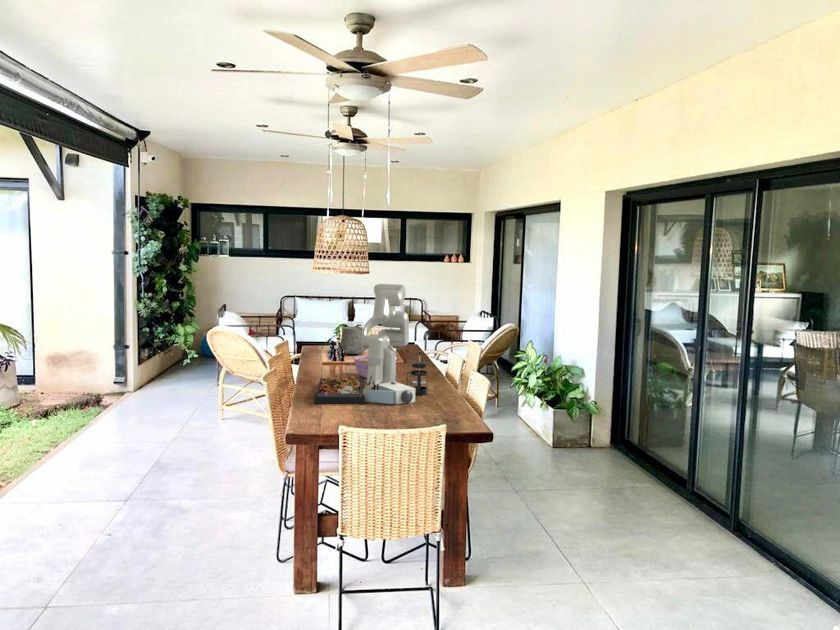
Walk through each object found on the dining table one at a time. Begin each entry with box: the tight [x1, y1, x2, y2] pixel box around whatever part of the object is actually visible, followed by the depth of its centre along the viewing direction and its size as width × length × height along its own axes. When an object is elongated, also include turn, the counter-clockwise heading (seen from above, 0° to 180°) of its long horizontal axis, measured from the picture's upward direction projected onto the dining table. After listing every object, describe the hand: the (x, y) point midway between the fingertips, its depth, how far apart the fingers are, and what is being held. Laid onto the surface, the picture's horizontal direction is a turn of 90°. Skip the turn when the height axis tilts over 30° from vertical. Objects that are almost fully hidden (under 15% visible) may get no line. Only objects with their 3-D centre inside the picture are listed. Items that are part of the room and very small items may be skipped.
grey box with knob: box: [379, 381, 416, 406], centre depth 323 cm, size 20×12×8 cm, turn 37°
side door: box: [363, 388, 397, 405], centre depth 313 cm, size 17×2×6 cm, turn 75°
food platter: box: [313, 375, 366, 406], centre depth 332 cm, size 45×25×10 cm, turn 5°
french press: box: [406, 350, 429, 397], centre depth 337 cm, size 12×9×23 cm
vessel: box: [339, 326, 367, 355], centre depth 462 cm, size 22×22×20 cm
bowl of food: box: [353, 355, 369, 379], centre depth 380 cm, size 20×20×12 cm
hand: (374, 397), depth 318 cm, fingers closed
